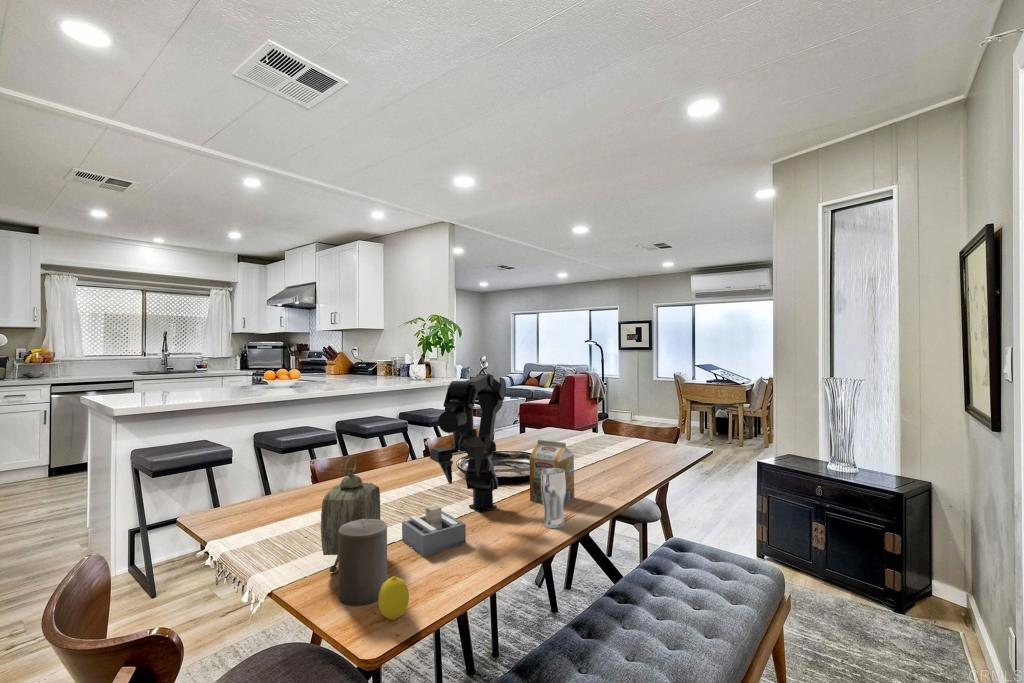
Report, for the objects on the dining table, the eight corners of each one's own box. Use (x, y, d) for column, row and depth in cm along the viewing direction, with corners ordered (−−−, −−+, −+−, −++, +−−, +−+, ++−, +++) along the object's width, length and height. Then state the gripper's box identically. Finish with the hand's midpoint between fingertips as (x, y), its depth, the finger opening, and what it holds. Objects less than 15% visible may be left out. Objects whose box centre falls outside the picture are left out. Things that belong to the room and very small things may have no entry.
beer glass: (565, 529, 128) (564, 474, 128) (540, 528, 129) (539, 473, 129) (567, 520, 135) (566, 468, 135) (543, 518, 136) (542, 467, 136)
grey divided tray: (402, 540, 122) (401, 518, 122) (442, 529, 130) (442, 508, 130) (423, 557, 113) (422, 532, 113) (465, 543, 120) (465, 520, 120)
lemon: (381, 612, 90) (381, 570, 90) (411, 610, 90) (410, 568, 90) (375, 629, 84) (375, 585, 84) (407, 627, 85) (406, 583, 85)
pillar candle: (341, 611, 90) (341, 533, 90) (335, 587, 99) (335, 516, 99) (392, 598, 95) (392, 524, 95) (382, 577, 103) (382, 509, 103)
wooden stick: (425, 538, 121) (425, 507, 121) (436, 535, 123) (435, 504, 123) (431, 541, 119) (430, 510, 119) (441, 538, 121) (441, 507, 121)
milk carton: (530, 501, 152) (529, 442, 152) (546, 492, 160) (545, 436, 160) (558, 507, 146) (557, 446, 146) (574, 497, 154) (573, 439, 154)
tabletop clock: (346, 548, 118) (345, 449, 118) (382, 548, 118) (380, 449, 118) (321, 577, 103) (320, 464, 104) (362, 577, 103) (360, 464, 103)
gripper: (448, 435, 120) (449, 495, 120) (506, 424, 131) (508, 480, 131) (428, 428, 129) (429, 484, 129) (484, 419, 140) (486, 471, 140)
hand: (464, 480), depth 132 cm, fingers open, 9 cm apart
